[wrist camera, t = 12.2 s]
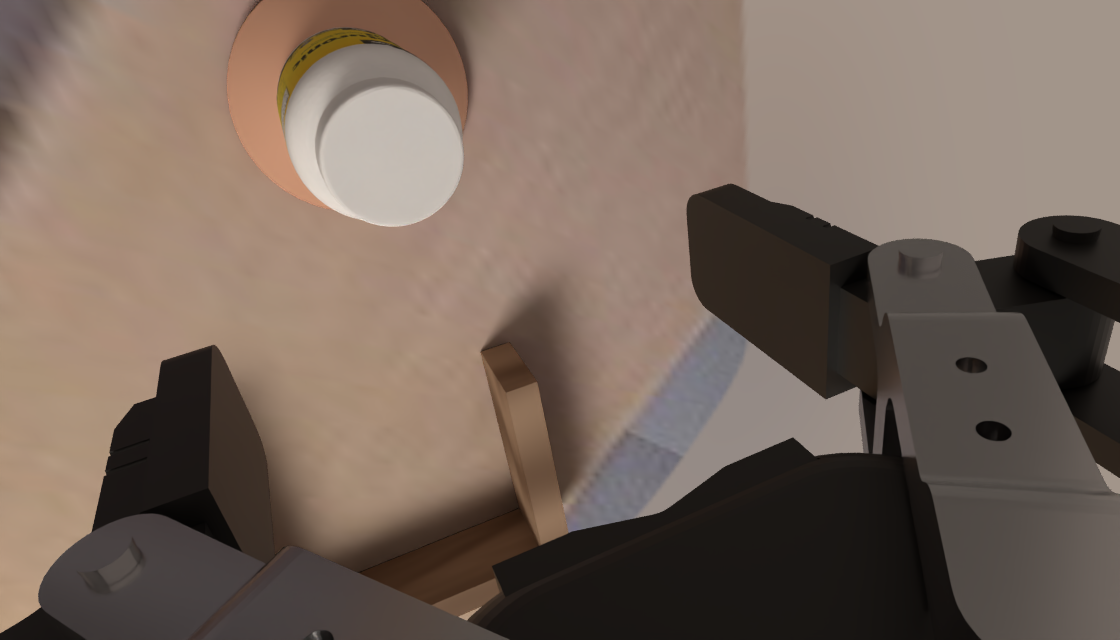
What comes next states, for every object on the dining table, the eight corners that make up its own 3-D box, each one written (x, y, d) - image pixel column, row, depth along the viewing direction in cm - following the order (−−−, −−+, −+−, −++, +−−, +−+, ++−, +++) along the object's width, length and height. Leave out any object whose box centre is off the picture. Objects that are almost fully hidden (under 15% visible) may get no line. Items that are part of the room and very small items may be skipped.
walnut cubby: (168, 457, 33) (161, 516, 29) (509, 342, 37) (537, 381, 33) (264, 633, 39) (267, 698, 35) (548, 517, 43) (575, 565, 39)
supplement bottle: (415, 23, 28) (489, 55, 20) (423, 164, 31) (492, 243, 23) (264, 24, 27) (278, 60, 18) (284, 173, 29) (306, 264, 21)
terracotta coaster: (186, -3, 26) (186, -2, 25) (435, -51, 28) (438, -51, 28) (275, 233, 30) (276, 238, 30) (483, 175, 33) (487, 179, 32)
